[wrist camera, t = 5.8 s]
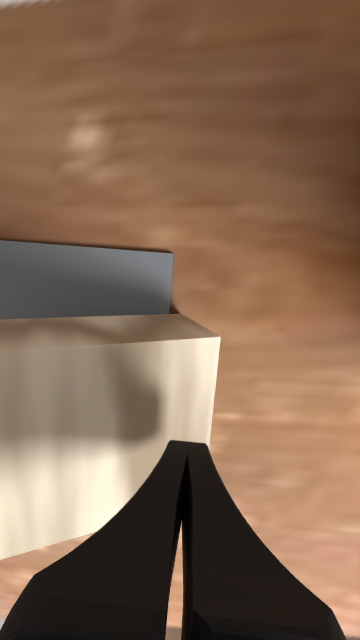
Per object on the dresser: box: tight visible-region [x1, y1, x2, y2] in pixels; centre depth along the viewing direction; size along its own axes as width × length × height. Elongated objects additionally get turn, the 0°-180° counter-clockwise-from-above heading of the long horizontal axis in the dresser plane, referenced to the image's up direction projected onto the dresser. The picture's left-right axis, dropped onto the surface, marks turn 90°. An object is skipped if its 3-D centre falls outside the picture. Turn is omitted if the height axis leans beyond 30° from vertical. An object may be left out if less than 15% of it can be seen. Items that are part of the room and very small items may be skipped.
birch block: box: [0, 314, 221, 560], centre depth 15 cm, size 4×8×9 cm
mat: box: [0, 240, 174, 319], centre depth 18 cm, size 10×14×1 cm
